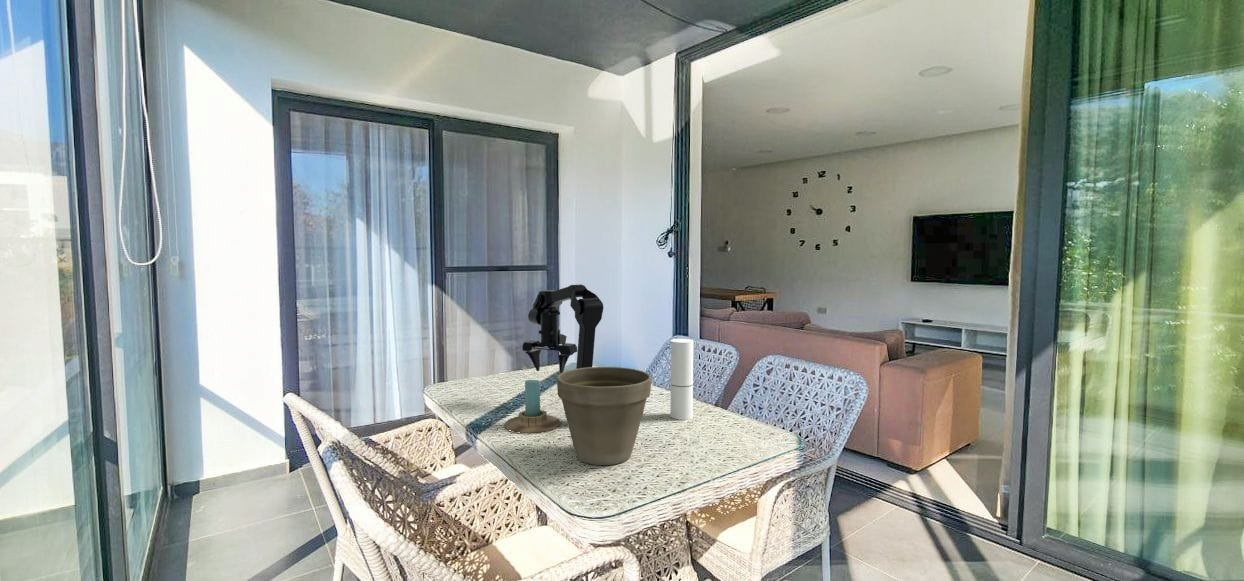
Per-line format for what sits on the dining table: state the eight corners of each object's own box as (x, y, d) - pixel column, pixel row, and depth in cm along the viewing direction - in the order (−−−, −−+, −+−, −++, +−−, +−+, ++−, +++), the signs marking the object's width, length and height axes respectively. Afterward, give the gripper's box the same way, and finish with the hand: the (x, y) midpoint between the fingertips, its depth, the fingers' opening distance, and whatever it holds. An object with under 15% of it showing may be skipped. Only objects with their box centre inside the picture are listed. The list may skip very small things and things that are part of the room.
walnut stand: (570, 420, 180) (570, 409, 180) (542, 436, 164) (542, 425, 164) (524, 413, 187) (524, 403, 186) (493, 429, 171) (493, 418, 171)
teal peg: (540, 420, 178) (540, 379, 177) (539, 424, 173) (538, 383, 172) (526, 420, 178) (526, 379, 176) (524, 425, 173) (524, 383, 172)
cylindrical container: (692, 413, 187) (693, 338, 185) (692, 420, 180) (693, 342, 177) (670, 412, 187) (671, 338, 185) (670, 419, 180) (670, 342, 178)
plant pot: (600, 433, 168) (600, 361, 166) (669, 452, 152) (669, 373, 150) (537, 457, 149) (536, 376, 147) (608, 483, 133) (608, 392, 131)
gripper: (584, 325, 196) (584, 369, 197) (538, 322, 203) (538, 365, 205) (569, 330, 186) (569, 376, 187) (520, 326, 193) (521, 371, 195)
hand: (549, 372), depth 194 cm, fingers open, 9 cm apart
